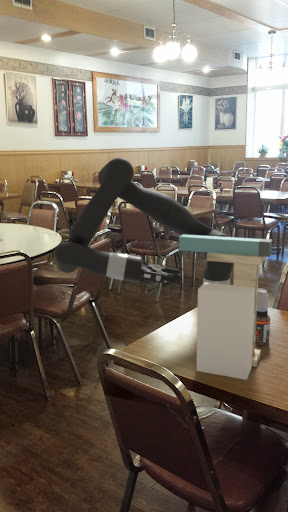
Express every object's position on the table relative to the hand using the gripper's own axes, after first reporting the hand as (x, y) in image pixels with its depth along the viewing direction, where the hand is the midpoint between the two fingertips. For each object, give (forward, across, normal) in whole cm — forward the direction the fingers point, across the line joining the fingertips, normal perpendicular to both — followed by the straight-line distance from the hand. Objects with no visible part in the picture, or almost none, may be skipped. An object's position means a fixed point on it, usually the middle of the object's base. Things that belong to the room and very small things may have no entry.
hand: (179, 276), depth 135 cm
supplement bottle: (+30, +12, +19) cm, 38 cm away
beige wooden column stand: (+20, +1, +22) cm, 30 cm away
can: (+33, +30, +18) cm, 48 cm away
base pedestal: (+17, -7, +23) cm, 29 cm away
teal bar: (+11, 0, -9) cm, 15 cm away
